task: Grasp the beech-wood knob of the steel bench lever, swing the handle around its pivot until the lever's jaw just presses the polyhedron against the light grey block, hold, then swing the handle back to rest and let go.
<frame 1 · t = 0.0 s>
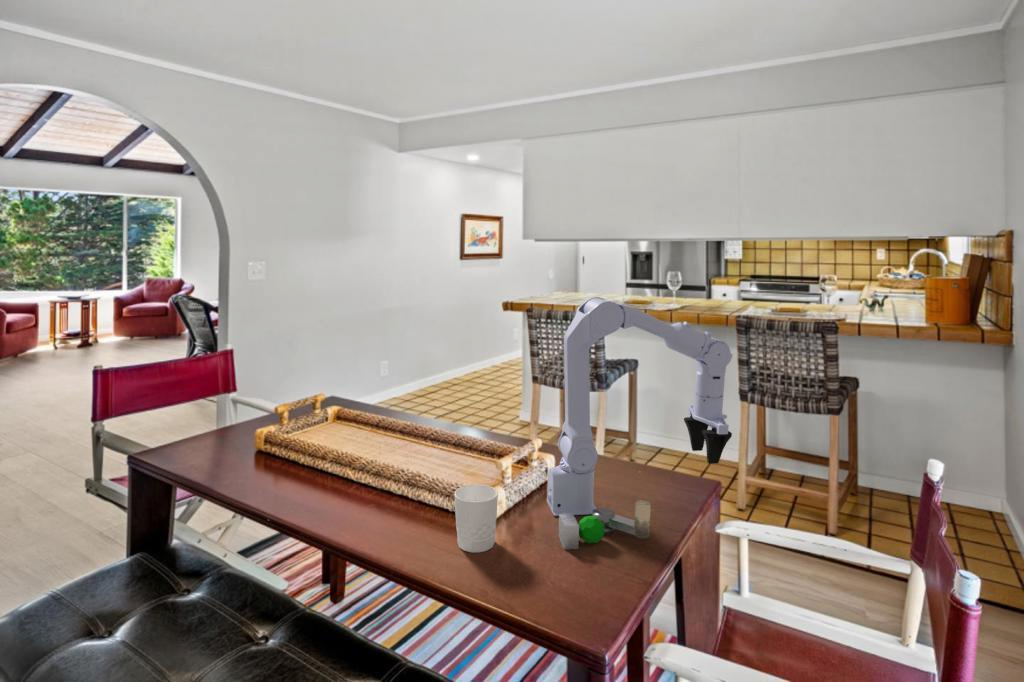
hand: (704, 456, 131), 10 cm above the table, fingers open, 7 cm apart
white cup: (476, 545, 113), on the table
lever: (620, 512, 116), point 4 cm above the table, hinge at 0.0°
light grey block: (568, 542, 114), on the table
polyhedron: (590, 542, 114), on the table
pivot base: (603, 528, 119), on the table
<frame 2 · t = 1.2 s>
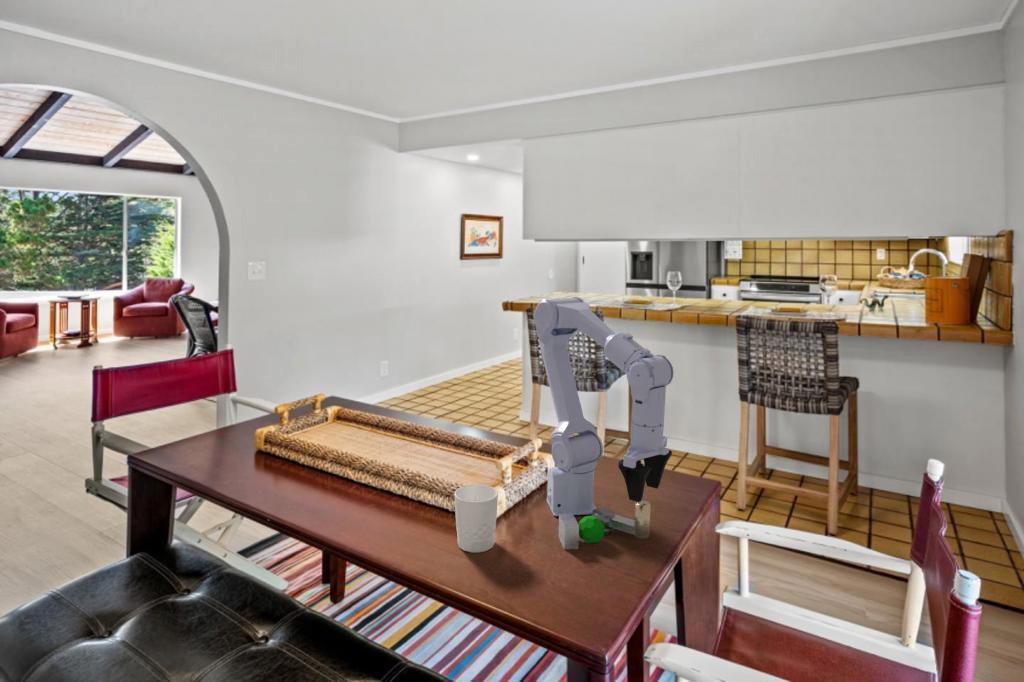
hand: (644, 493, 113), 9 cm above the table, fingers open, 7 cm apart
nothing on the table moved.
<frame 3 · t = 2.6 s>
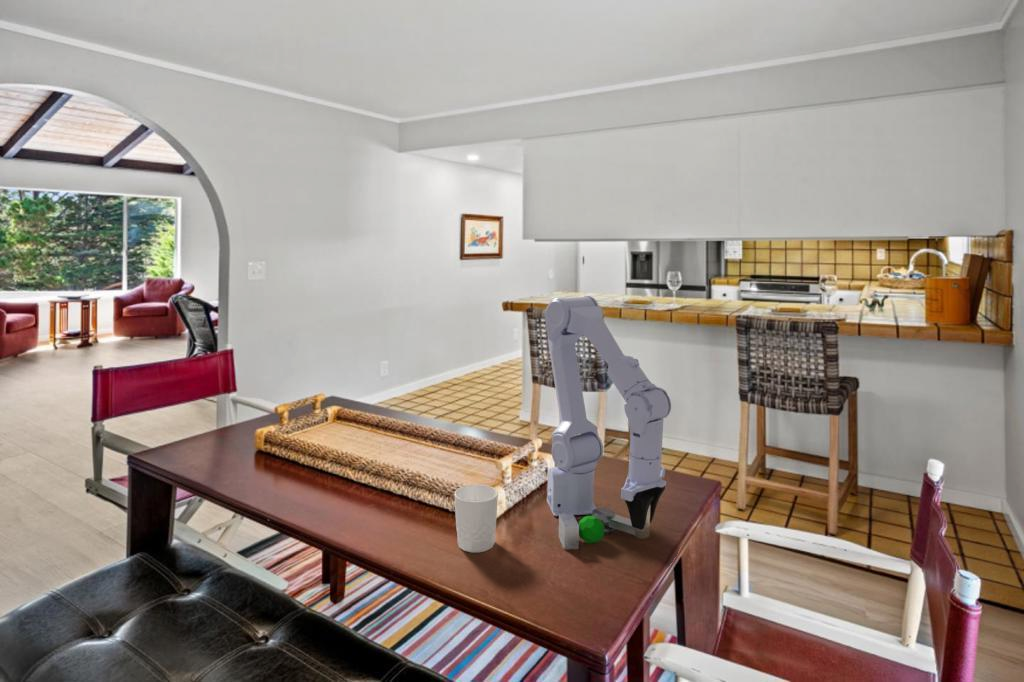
hand: (641, 524, 114), 3 cm above the table, fingers closed on lever, 3 cm apart
lever: (620, 512, 116), point 4 cm above the table, hinge at 0.0°, touching gripper
everything else where it was.
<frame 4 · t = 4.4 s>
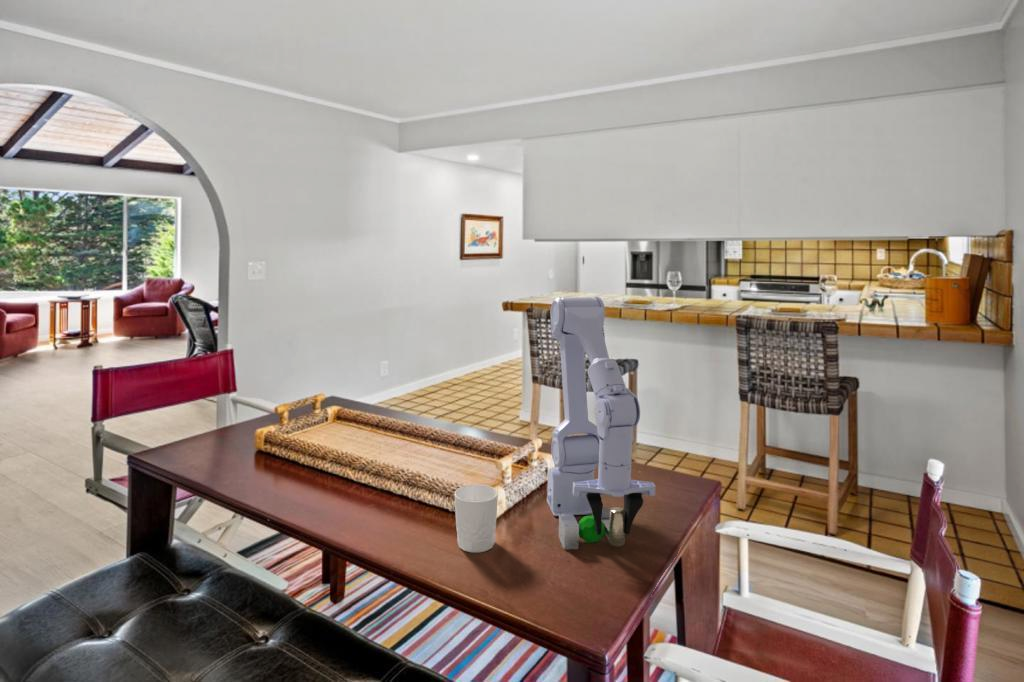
hand: (611, 532, 111), 3 cm above the table, fingers open, 4 cm apart
lever: (609, 515, 115), point 4 cm above the table, hinge at 44.0°, touching gripper
polyhedron: (590, 542, 114), on the table, touching gripper
everything else where it was.
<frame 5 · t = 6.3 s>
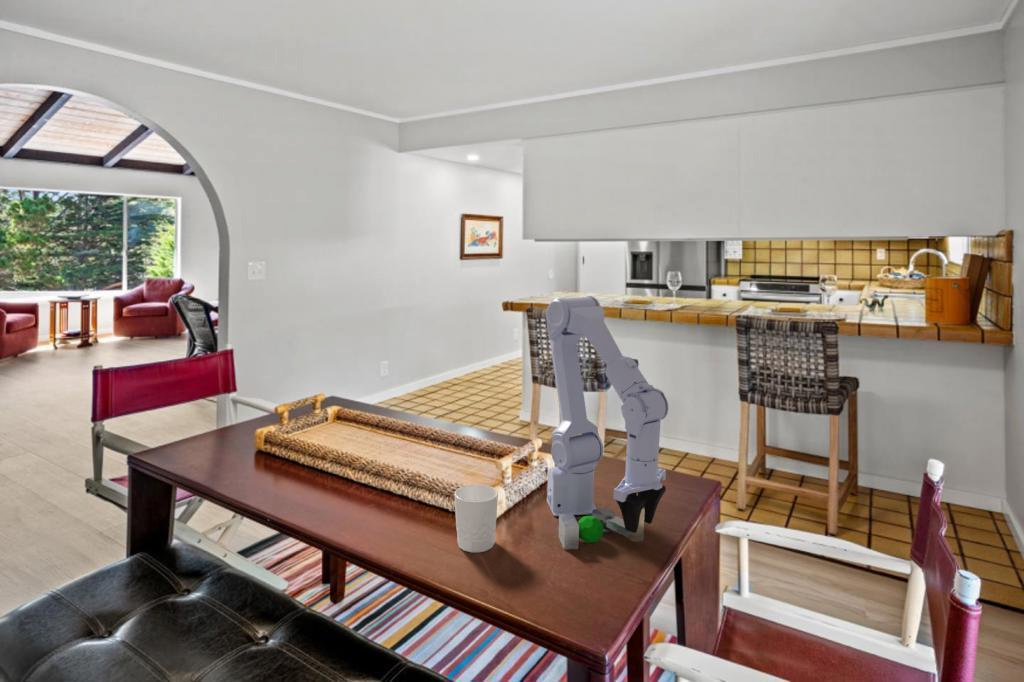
hand: (638, 526, 113), 3 cm above the table, fingers open, 4 cm apart
lever: (618, 514, 116), point 4 cm above the table, hinge at 13.9°, touching gripper
polyhedron: (589, 542, 114), on the table
everything else where it was.
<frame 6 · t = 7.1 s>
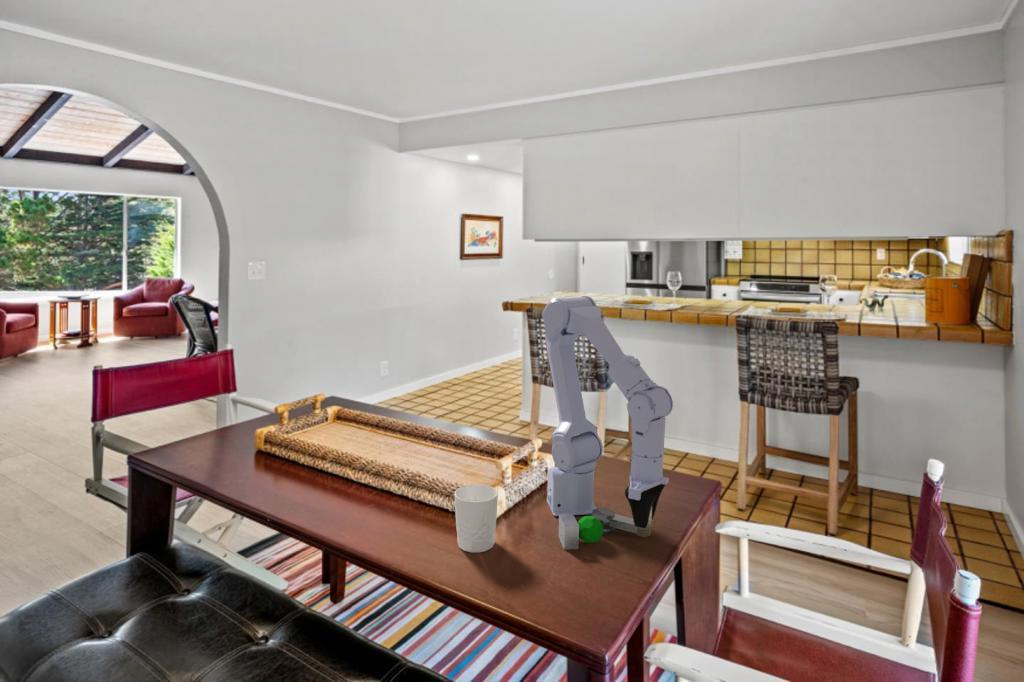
hand: (644, 522, 115), 3 cm above the table, fingers open, 4 cm apart
lever: (621, 512, 117), point 4 cm above the table, hinge at -5.9°
everything else where it was.
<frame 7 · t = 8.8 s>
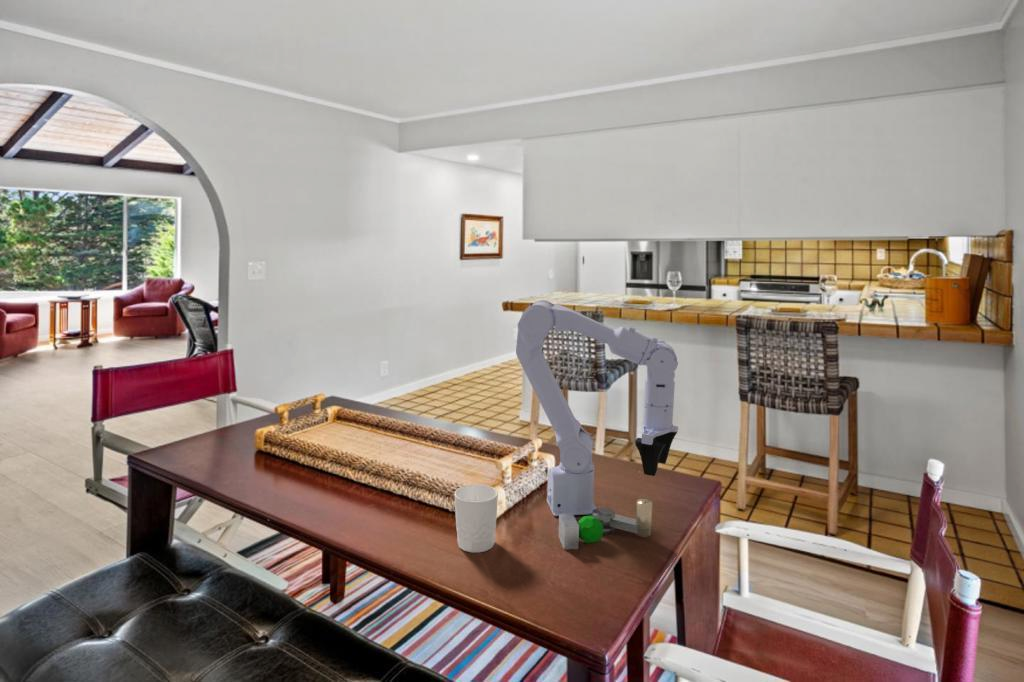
hand: (655, 468, 124), 10 cm above the table, fingers open, 7 cm apart
nothing on the table moved.
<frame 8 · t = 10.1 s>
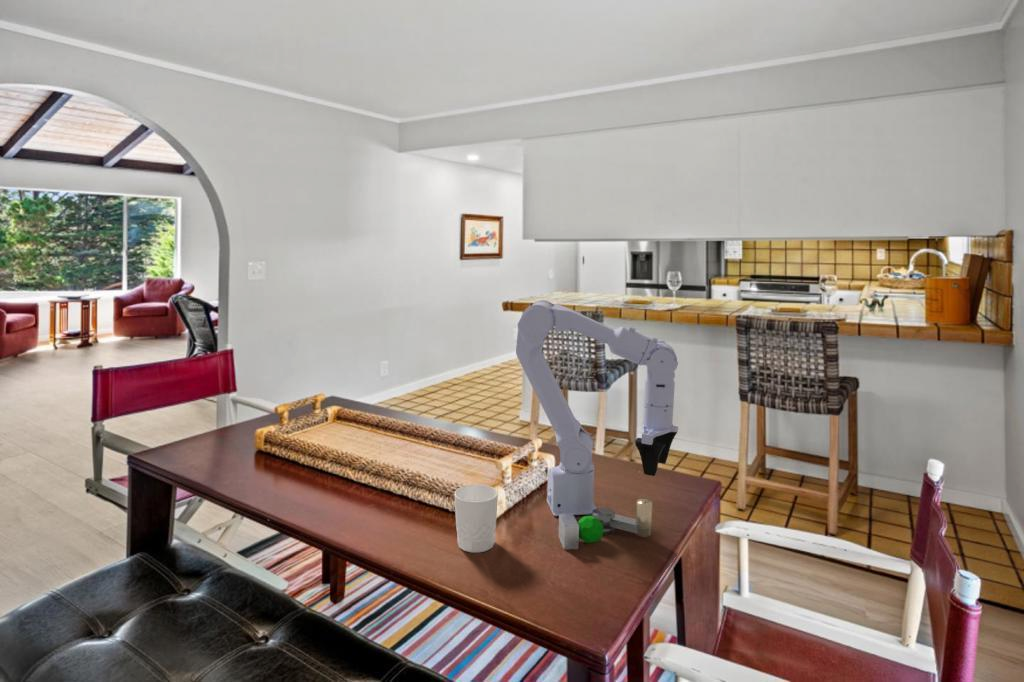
hand: (655, 468, 124), 10 cm above the table, fingers open, 7 cm apart
nothing on the table moved.
at the end: lever at -6° (first picture: +0°); polyhedron inside the target area (0.2 cm from its centre), on the table; the gripper is holding nothing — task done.
